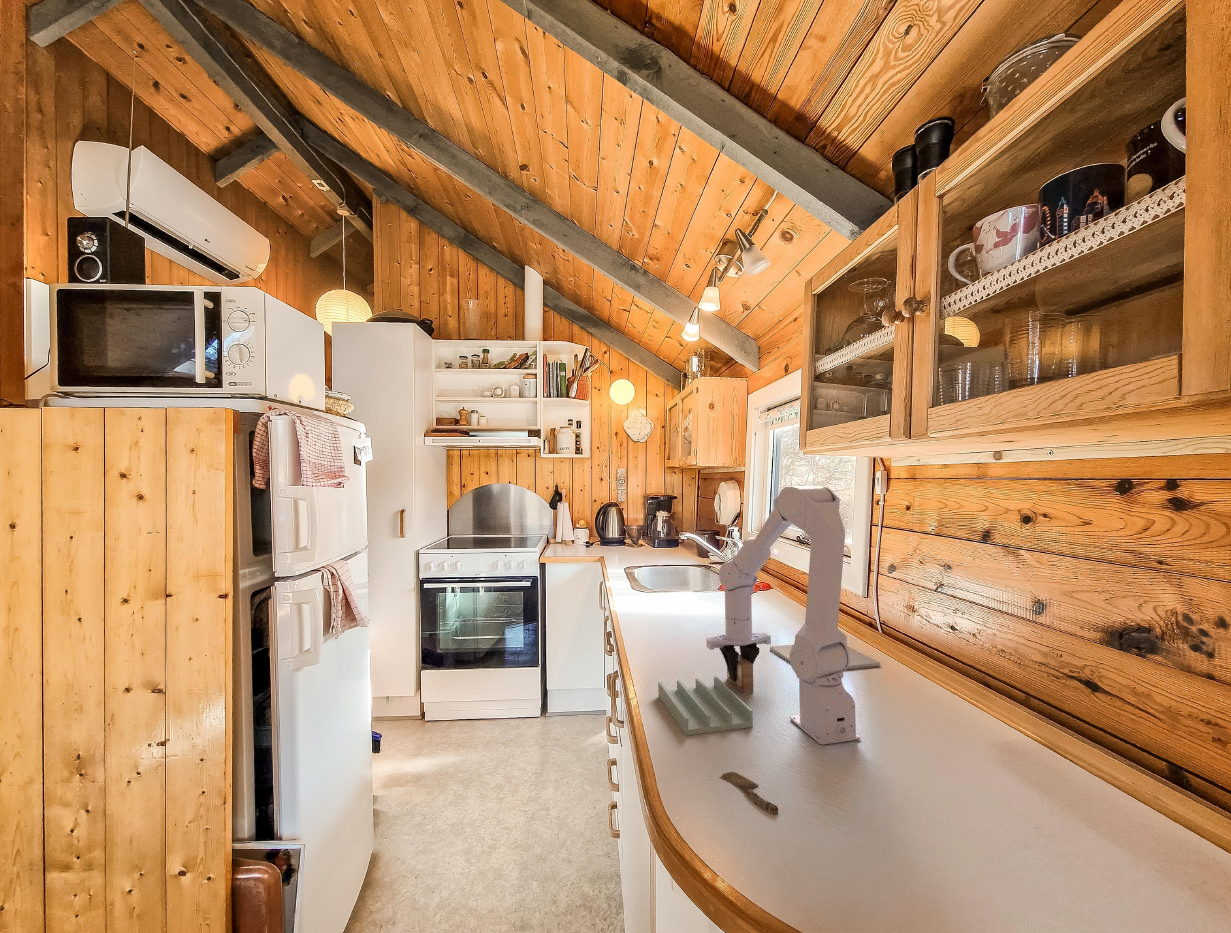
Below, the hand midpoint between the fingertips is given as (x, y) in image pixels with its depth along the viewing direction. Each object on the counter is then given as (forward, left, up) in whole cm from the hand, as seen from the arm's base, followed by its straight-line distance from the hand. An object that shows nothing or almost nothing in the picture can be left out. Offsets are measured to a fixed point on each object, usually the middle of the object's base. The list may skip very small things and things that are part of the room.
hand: (739, 678), depth 106 cm
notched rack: (-9, +12, -1) cm, 15 cm away
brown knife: (-33, +16, -2) cm, 37 cm away
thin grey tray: (+10, -28, -2) cm, 30 cm away
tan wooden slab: (0, 0, -1) cm, 1 cm away
